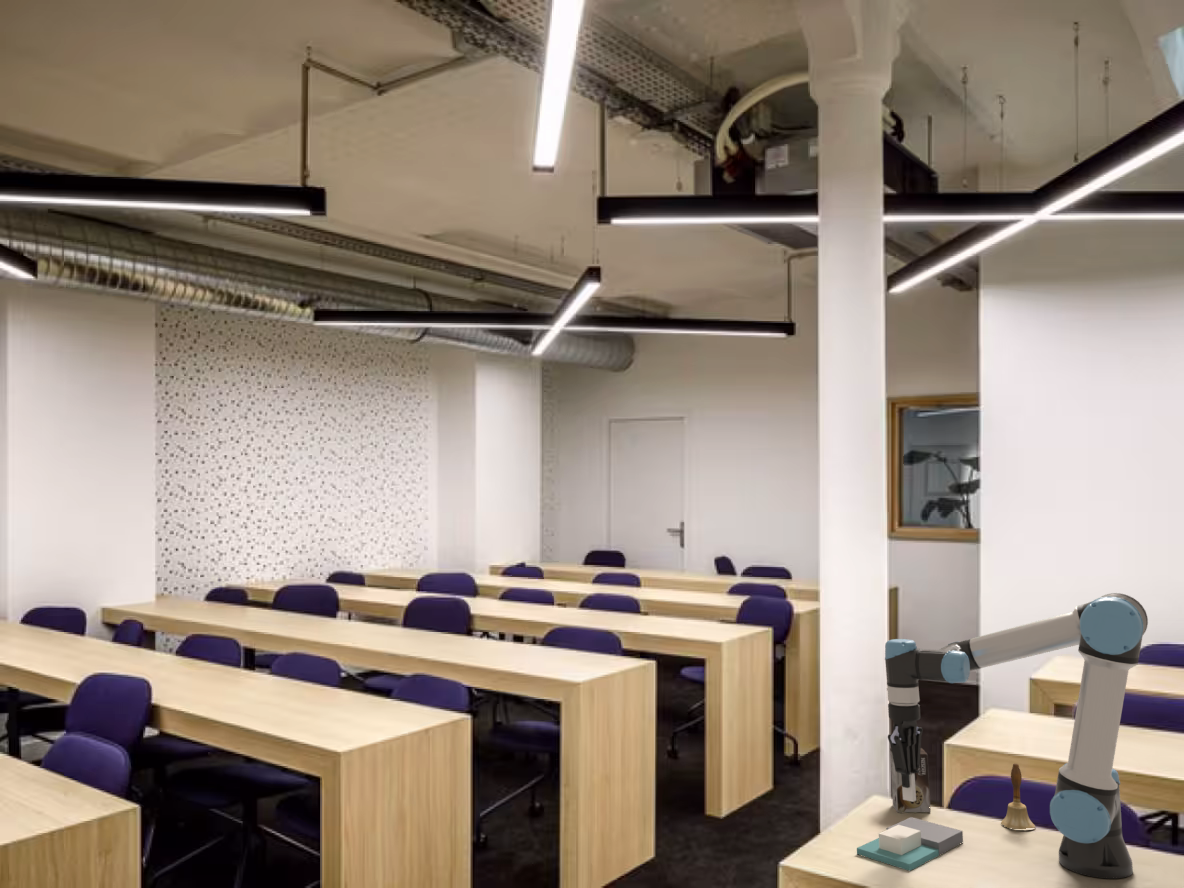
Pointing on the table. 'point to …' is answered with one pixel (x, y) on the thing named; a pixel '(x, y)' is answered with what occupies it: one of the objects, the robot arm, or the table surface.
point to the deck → (934, 834)
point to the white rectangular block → (899, 839)
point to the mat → (898, 855)
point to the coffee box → (920, 786)
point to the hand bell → (1017, 805)
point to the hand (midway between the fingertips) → (909, 799)
